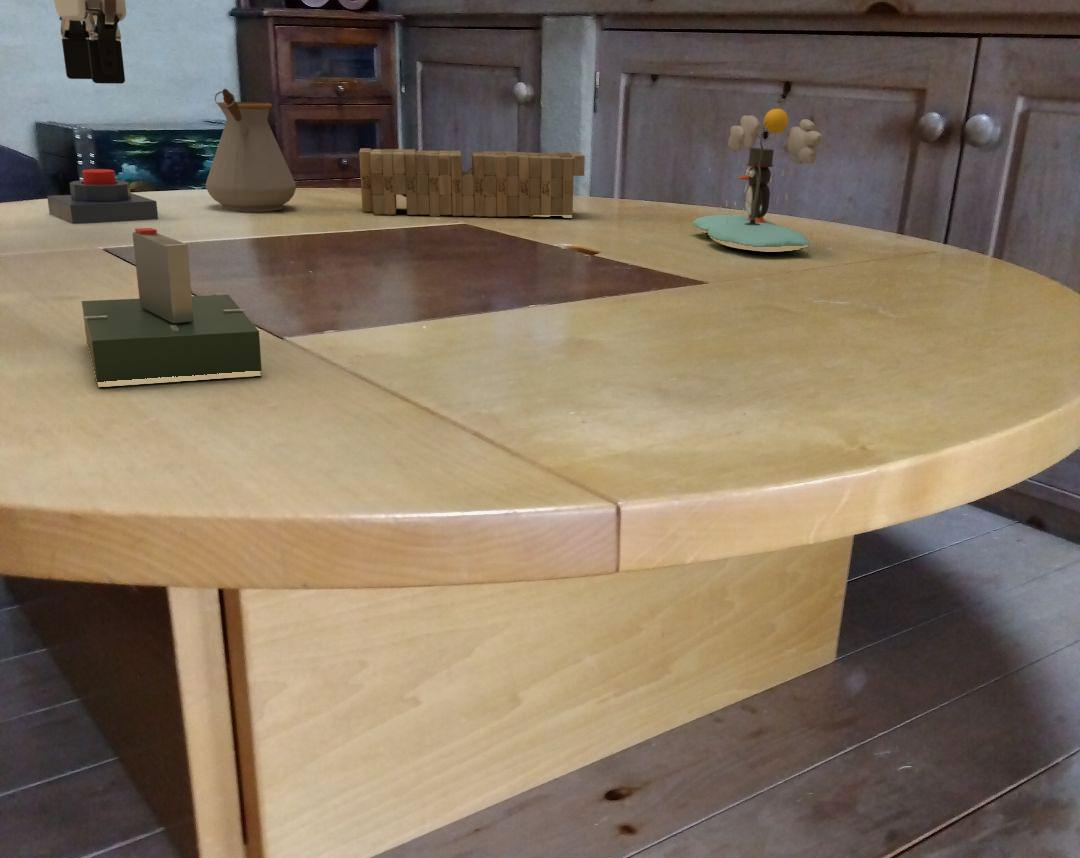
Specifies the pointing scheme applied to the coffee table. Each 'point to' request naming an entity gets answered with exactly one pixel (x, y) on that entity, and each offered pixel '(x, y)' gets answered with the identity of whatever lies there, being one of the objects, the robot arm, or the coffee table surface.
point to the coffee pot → (248, 161)
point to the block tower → (469, 182)
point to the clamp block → (169, 340)
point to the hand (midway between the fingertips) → (95, 80)
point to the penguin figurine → (762, 183)
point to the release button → (99, 176)
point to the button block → (101, 204)
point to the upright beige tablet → (163, 276)
